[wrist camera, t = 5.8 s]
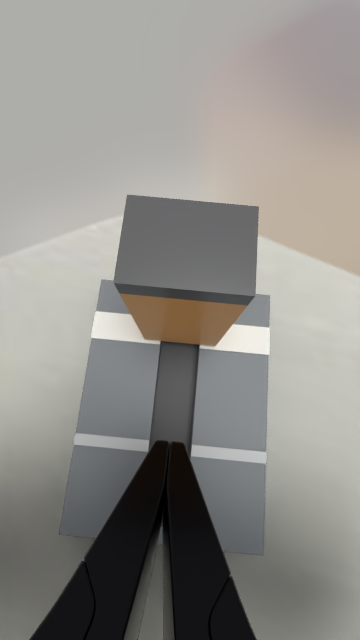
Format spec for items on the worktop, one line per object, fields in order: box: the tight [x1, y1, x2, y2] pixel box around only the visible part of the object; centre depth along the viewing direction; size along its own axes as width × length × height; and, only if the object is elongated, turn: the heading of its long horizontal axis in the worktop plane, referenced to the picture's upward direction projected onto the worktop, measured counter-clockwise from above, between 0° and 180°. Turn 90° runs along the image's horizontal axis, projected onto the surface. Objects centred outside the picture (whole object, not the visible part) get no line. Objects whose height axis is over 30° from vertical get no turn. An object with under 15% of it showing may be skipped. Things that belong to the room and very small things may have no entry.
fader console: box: [59, 280, 270, 556], centre depth 15 cm, size 12×9×1 cm
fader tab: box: [113, 195, 259, 346], centre depth 12 cm, size 2×4×9 cm
